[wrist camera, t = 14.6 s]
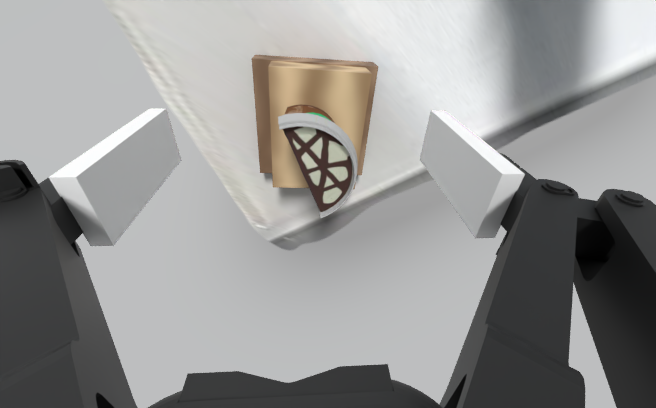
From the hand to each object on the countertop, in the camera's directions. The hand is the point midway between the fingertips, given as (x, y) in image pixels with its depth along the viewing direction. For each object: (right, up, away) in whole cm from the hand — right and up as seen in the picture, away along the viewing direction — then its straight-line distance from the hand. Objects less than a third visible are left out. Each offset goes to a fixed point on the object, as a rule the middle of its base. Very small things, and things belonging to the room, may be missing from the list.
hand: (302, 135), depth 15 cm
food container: (+1, +6, +23) cm, 24 cm away
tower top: (0, +8, +26) cm, 27 cm away
